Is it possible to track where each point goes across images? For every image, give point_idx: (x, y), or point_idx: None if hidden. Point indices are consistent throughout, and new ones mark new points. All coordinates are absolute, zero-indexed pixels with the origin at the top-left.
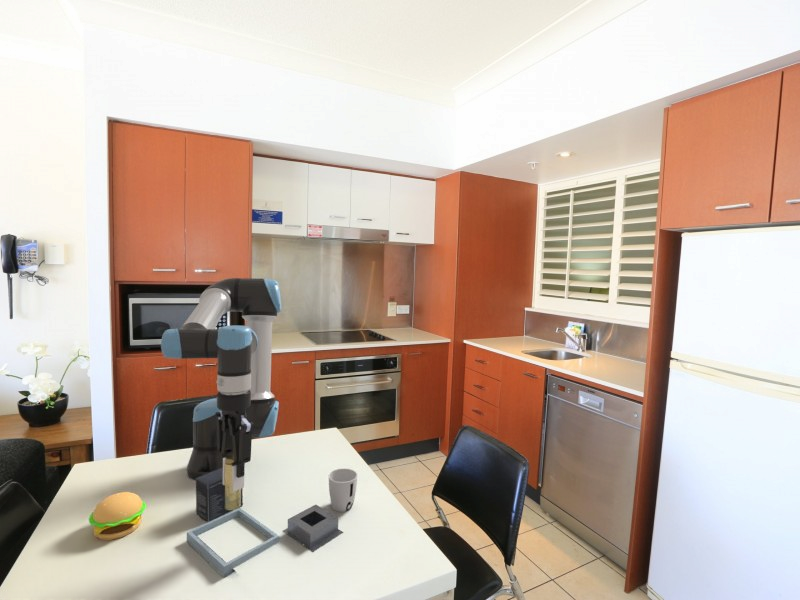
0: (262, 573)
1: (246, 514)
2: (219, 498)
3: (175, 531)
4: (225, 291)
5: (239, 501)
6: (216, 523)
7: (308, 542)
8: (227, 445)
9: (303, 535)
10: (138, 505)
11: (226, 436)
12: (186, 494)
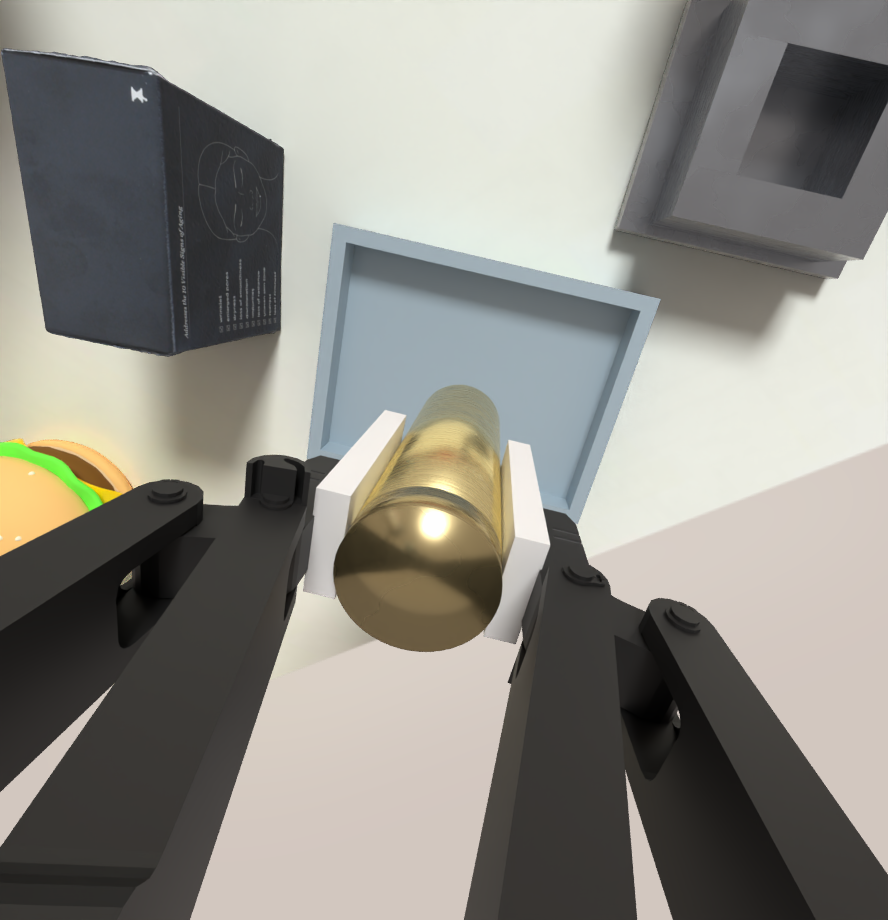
0: (678, 441)
1: (405, 249)
2: (235, 279)
3: (234, 425)
4: None
5: (498, 425)
6: (336, 350)
7: (815, 258)
8: (264, 668)
9: (787, 248)
10: (55, 506)
11: (202, 881)
12: (5, 227)
